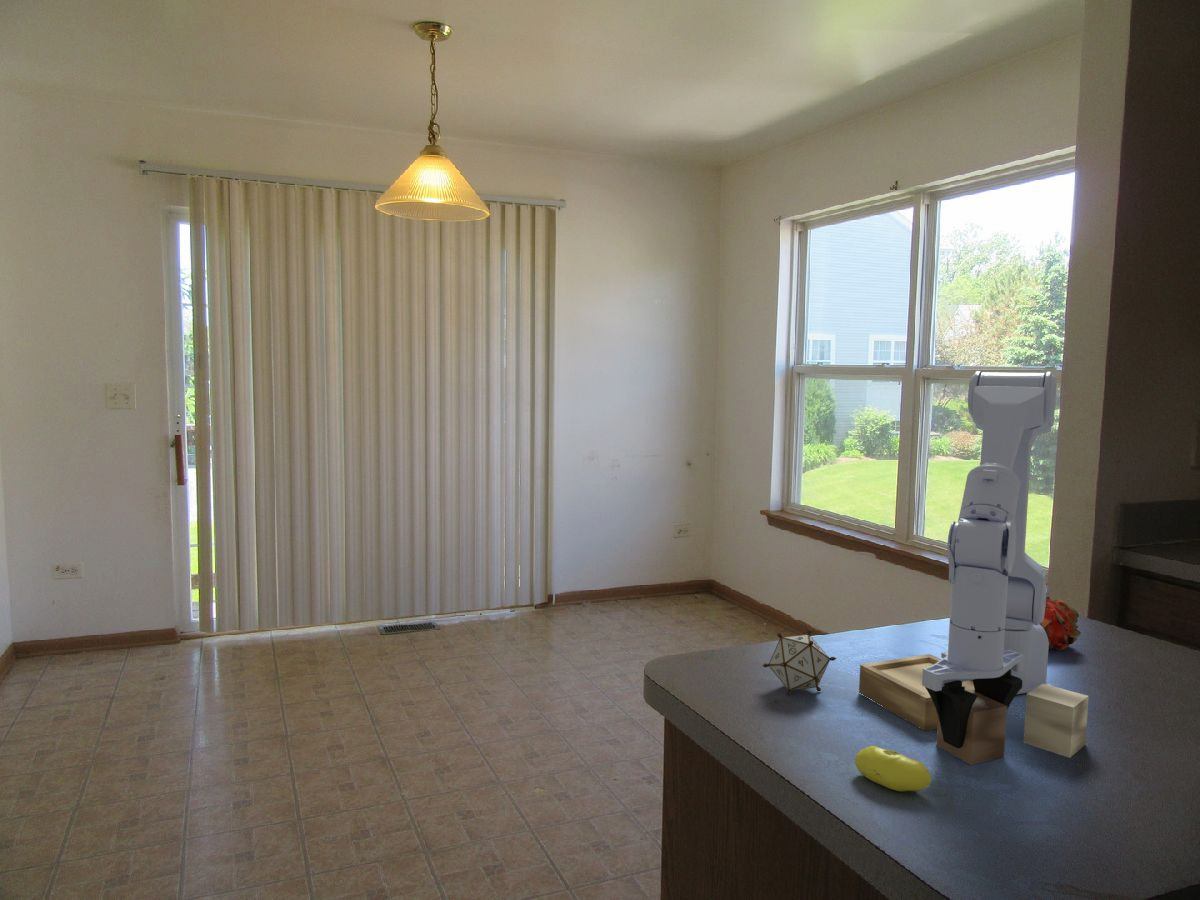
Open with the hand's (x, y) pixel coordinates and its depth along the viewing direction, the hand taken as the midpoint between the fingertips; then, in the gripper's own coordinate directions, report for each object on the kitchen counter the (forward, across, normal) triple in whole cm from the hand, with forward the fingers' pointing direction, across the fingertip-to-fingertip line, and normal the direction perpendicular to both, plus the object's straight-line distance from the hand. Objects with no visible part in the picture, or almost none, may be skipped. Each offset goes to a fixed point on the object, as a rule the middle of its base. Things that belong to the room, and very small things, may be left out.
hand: (970, 739), depth 93 cm
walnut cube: (+1, 0, 0) cm, 1 cm away
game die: (+2, +6, -23) cm, 23 cm away
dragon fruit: (+2, -42, -19) cm, 46 cm away
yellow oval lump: (+2, +14, +2) cm, 14 cm away
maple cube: (+2, -11, +3) cm, 11 cm away
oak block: (+1, -6, -12) cm, 13 cm away
